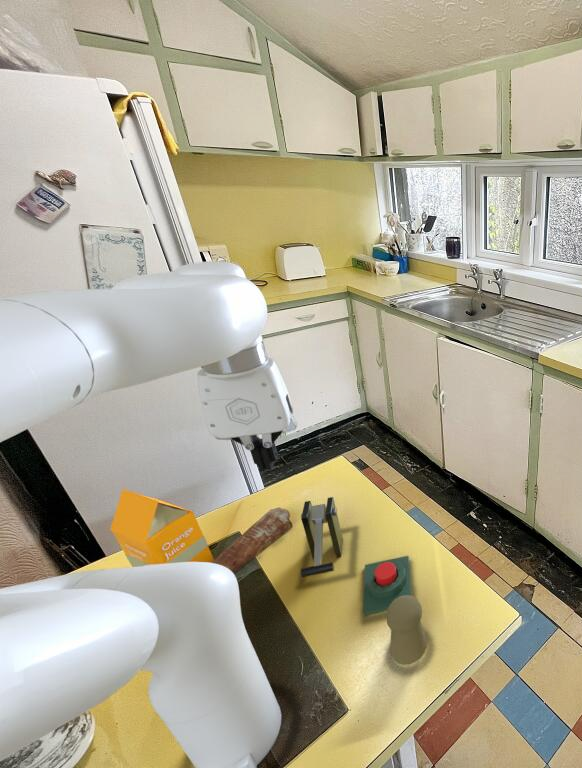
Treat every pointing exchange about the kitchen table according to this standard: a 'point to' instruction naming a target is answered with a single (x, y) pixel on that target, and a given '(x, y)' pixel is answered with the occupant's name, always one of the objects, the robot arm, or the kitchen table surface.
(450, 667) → the kitchen table surface
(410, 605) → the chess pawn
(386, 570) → the button
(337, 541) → the bracket
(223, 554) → the salami
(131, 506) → the orange juice
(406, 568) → the button box
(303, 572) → the lever
